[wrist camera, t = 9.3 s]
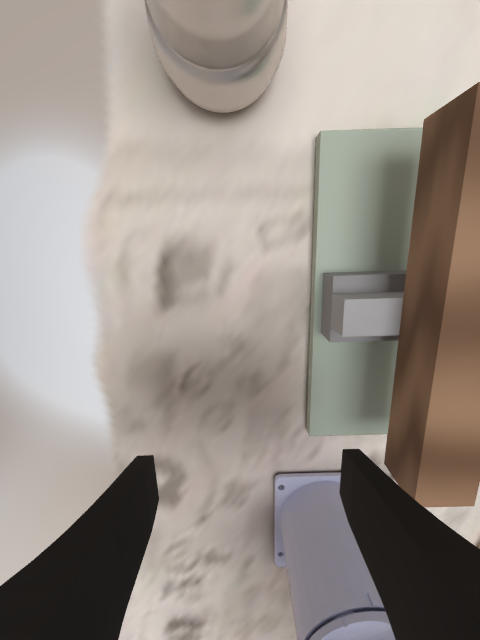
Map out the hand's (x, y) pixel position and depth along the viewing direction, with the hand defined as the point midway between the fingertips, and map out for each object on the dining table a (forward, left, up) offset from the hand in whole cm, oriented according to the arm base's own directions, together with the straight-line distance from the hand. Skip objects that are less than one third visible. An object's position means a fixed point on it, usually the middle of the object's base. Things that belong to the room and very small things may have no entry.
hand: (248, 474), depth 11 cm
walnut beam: (+5, -10, -5) cm, 12 cm away
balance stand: (+5, -10, -10) cm, 15 cm away
